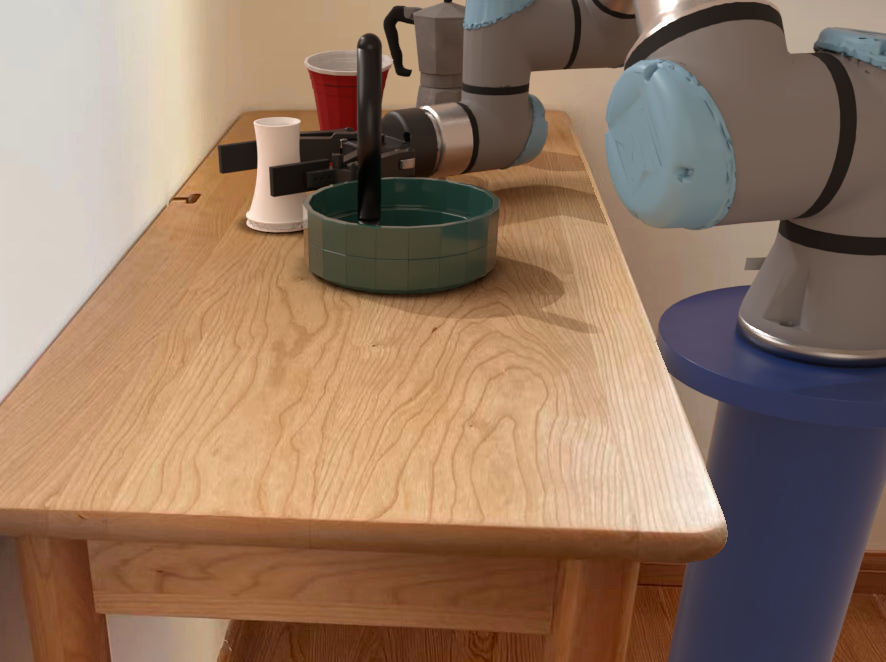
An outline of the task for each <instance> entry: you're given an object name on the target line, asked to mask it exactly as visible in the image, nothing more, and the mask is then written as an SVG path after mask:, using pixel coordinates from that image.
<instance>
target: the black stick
mask: <svg viewBox="0 0 886 662" xmlns="http://www.w3.org/2000/svg"><path fill="white" fill-rule="evenodd" d="M382 43H383V42H382V40H381V38H380V37H379V36H378V35H377V34H375V33H372V32H366V33H364V34H363V35H361V36H360V37H359V38H358V40H357V43H356V50H357V188H358V220H359V222H360V224H366V225H374V226H378V223H379V222H380V219H381V141H382V118H383V99H382V54H383V44H382Z"/></svg>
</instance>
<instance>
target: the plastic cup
mask: <svg viewBox="0 0 886 662" xmlns="http://www.w3.org/2000/svg"><path fill="white" fill-rule="evenodd" d="M303 63H304V67H306V70H307V72H308V74H309V75H308V76H309V79H310V82H311V87H312V91H313V95H314V101H315V102H314V103H315V107H316V114H317V119H318V125H319V131H320V130H335V129H342V128H346V127H350V128H353V131H354V132H355V131H357V49H341V50H340V49H339V50H327V51H322V52H317V53H313V54H311V55H309V56H306V57H305V59H304V61H303ZM392 65H393V59H392V56H391V57H390V56H389V55H387V54H384V53H382V100H383V99H384V93H385V88H386V83H387V79H388V76H389V72H390V69H391V68H392ZM330 167H332V163H330Z"/></svg>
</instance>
